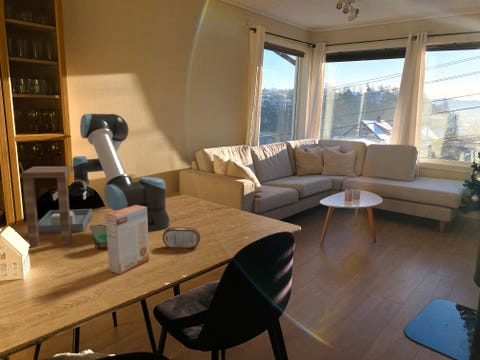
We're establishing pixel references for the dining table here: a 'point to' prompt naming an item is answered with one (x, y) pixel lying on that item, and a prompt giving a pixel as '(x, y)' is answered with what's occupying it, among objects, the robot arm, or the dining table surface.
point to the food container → (99, 236)
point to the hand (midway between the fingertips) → (68, 197)
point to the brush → (56, 218)
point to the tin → (181, 237)
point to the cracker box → (127, 238)
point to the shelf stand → (30, 200)
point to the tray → (45, 224)
